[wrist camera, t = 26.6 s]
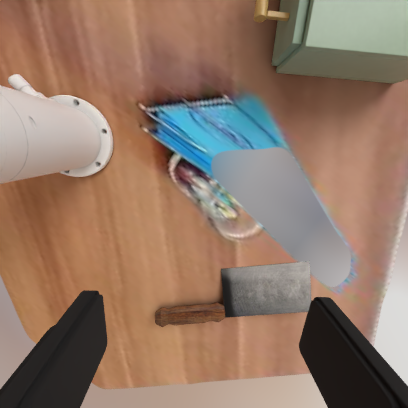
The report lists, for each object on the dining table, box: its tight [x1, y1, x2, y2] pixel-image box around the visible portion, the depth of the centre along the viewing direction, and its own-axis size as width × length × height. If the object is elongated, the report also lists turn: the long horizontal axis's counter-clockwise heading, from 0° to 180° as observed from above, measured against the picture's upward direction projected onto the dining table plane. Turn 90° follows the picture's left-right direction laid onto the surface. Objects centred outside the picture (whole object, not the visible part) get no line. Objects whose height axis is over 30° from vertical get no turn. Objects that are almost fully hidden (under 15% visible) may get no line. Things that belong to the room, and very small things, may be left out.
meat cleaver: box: [155, 261, 311, 327], centre depth 41 cm, size 34×11×4 cm, turn 95°
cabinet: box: [276, 0, 408, 84], centre depth 25 cm, size 20×15×9 cm
